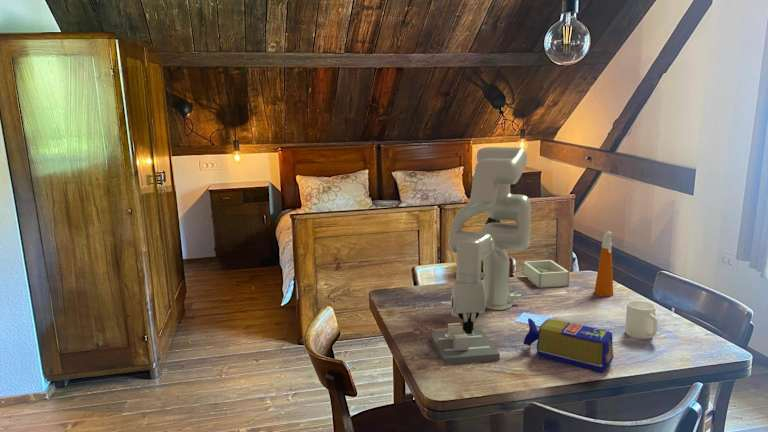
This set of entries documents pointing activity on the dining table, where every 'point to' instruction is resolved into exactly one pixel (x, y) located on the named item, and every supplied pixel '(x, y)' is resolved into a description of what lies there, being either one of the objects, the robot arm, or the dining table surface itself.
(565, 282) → the frame
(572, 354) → the bread
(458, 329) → the fader
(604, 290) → the spray bottle
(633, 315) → the cup
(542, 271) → the medication box
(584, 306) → the dining table surface
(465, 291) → the robot arm
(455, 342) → the fader
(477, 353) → the console
